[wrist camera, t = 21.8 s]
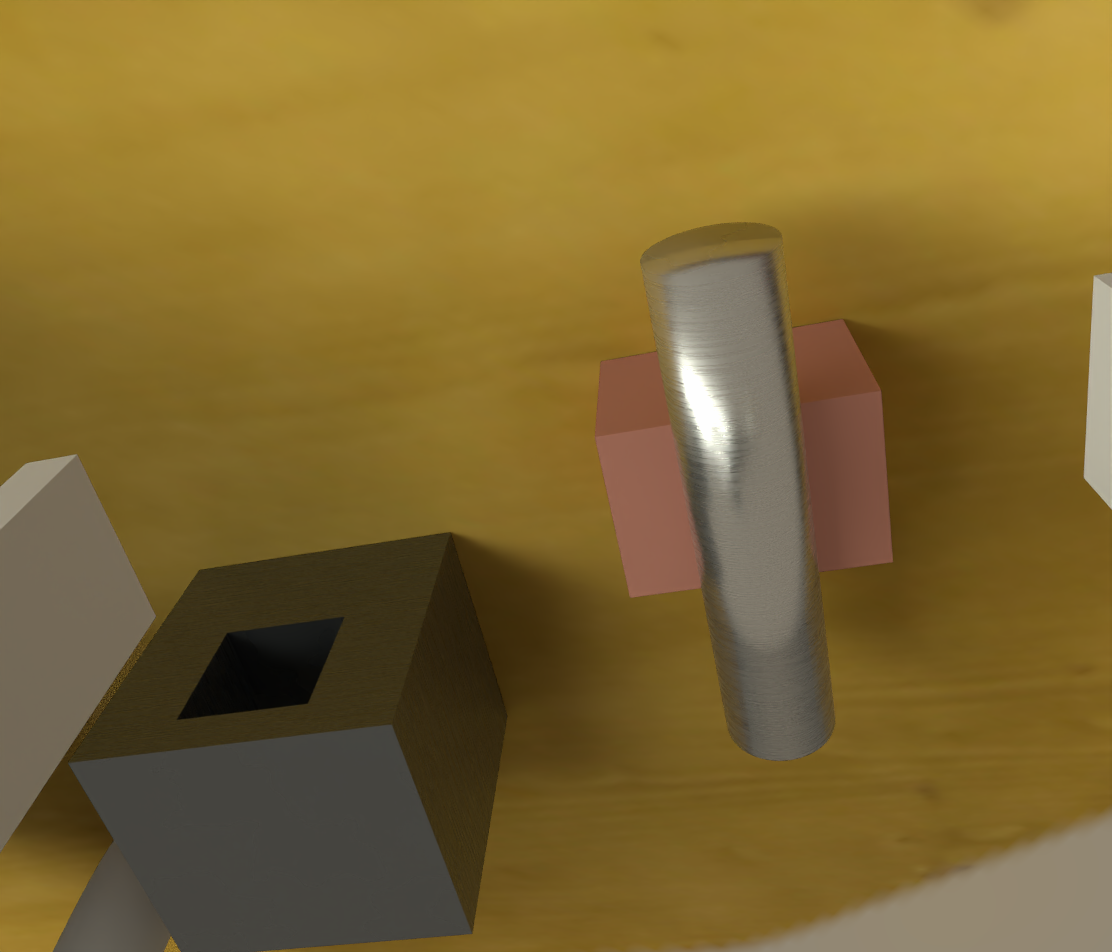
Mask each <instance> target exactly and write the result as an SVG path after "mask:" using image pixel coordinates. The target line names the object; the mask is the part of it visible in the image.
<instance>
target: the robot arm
mask: <svg viewBox="0 0 1112 952" xmlns="http://www.w3.org/2000/svg"><path fill="white" fill-rule="evenodd" d="M1084 479H1085V480H1086V481H1087V482H1088V483H1089V484H1090V485H1091V486H1092V488H1093V489H1094V490H1095V491H1096V492H1097V493H1098V494H1099V496H1100V497H1101V498H1102V499H1103V500H1104V501H1105V502H1106V503H1107V505H1108V506H1109V507H1110V508H1111V509H1112V273H1107V274H1101V275H1096V276H1094V283H1093V303H1092V323H1091V343H1090V363H1089V383H1088V403H1087V423H1086V443H1085V463H1084ZM155 617H156V615H155V613H154V611H153V609H152V607H151V605H150V603H149V601H148V599H147V597H146V595H145V593H144V591H143V589H142V586H141V584H140V582H139V580H138V578H137V576H136V574H135V572H134V570H133V568H132V566H131V564H130V562H129V560H128V558H127V556H126V554H125V552H124V549H123V547H122V545H121V543H120V541H119V539H118V537H117V535H116V533H115V531H114V529H113V527H112V525H111V523H110V521H109V519H108V517H107V515H106V512H105V510H104V508H103V506H102V504H101V502H100V500H99V498H98V496H97V494H96V492H95V490H94V488H93V486H92V484H91V482H90V480H89V478H88V475H87V473H86V471H85V469H84V467H83V465H82V463H81V461H80V459H79V457H78V455H77V454H76V455H70V456H65V457H59V458H53V459H48V460H42V461H36V462H30V463H26V464H25V465H24V466H23V467H21V468H20V469H19V470H18V471H17V472H16V473H15V474H14V475H13V476H12V477H10V478H9V479H8V480H7V481H6V482H5V483H4V484H3V485H2V486H1V487H0V852H1V851H2V849H3V848H4V846H5V844H6V843H7V841H8V840H9V838H10V837H11V835H12V834H13V832H14V831H15V829H16V828H17V826H18V825H19V823H20V822H21V820H22V819H23V817H24V816H25V814H26V813H27V811H28V810H29V808H30V807H31V805H32V804H33V802H34V801H35V799H36V798H37V796H38V795H39V793H40V792H41V790H42V788H43V787H44V785H45V784H46V782H47V781H48V779H49V778H50V776H51V775H52V773H53V772H54V770H55V769H56V767H57V766H58V764H59V763H60V761H61V760H62V758H63V757H64V755H65V754H66V752H67V751H68V749H69V748H70V746H71V745H72V743H73V742H74V740H75V739H76V737H77V736H78V734H79V732H80V731H81V729H82V728H83V726H84V725H85V723H86V722H87V720H88V719H89V717H90V716H91V714H92V713H93V711H94V710H95V708H96V707H97V705H98V704H99V702H100V701H101V699H102V698H103V696H104V695H105V693H106V692H107V690H108V689H109V687H110V686H111V684H112V683H113V681H114V679H115V678H116V676H117V675H118V673H119V672H120V670H121V669H122V667H123V666H124V664H125V663H126V661H127V660H128V658H129V657H130V655H131V654H132V652H133V651H134V649H135V648H136V646H137V645H138V643H139V642H140V640H141V639H142V637H143V636H144V634H145V633H146V631H147V630H148V628H149V627H150V625H151V623H152V622H153V620H154V619H155Z"/></svg>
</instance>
